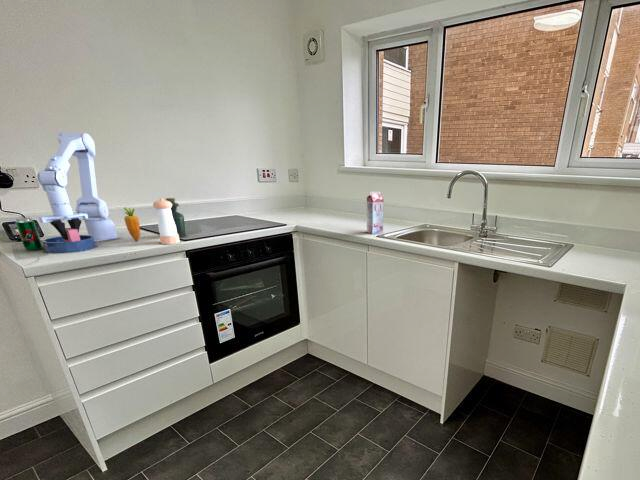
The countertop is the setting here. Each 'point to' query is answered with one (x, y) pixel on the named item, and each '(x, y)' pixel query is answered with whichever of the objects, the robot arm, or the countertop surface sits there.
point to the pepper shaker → (166, 222)
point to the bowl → (68, 244)
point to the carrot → (132, 224)
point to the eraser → (72, 235)
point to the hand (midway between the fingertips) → (71, 238)
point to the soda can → (28, 234)
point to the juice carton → (375, 213)
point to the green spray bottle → (177, 218)
